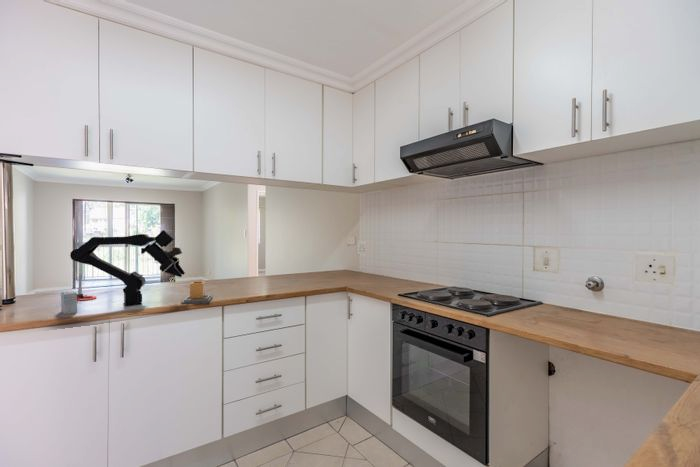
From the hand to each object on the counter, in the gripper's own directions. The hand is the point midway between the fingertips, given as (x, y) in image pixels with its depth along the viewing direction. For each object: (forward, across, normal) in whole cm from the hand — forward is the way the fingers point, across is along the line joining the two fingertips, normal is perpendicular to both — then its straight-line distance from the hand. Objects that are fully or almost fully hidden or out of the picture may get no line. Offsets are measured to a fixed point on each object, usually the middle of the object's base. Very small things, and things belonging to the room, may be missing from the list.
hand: (182, 275), depth 162 cm
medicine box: (-21, -8, +40) cm, 46 cm away
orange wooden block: (+14, 0, +4) cm, 14 cm away
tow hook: (-24, +21, +44) cm, 54 cm away
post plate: (+14, 0, +5) cm, 15 cm away
